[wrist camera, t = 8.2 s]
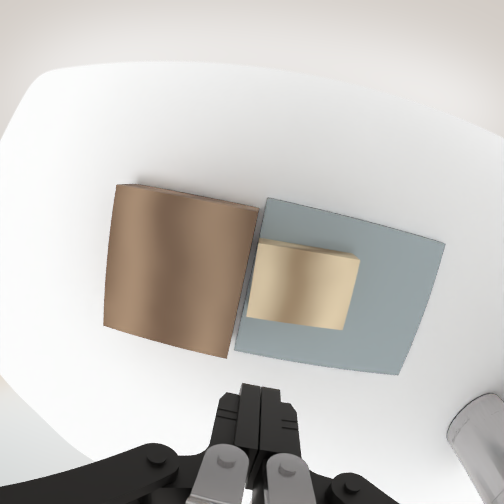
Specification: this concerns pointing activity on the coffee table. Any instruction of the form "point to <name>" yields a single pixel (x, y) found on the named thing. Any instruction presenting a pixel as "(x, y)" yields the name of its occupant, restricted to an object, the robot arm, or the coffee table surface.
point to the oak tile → (302, 284)
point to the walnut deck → (176, 267)
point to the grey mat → (363, 297)
